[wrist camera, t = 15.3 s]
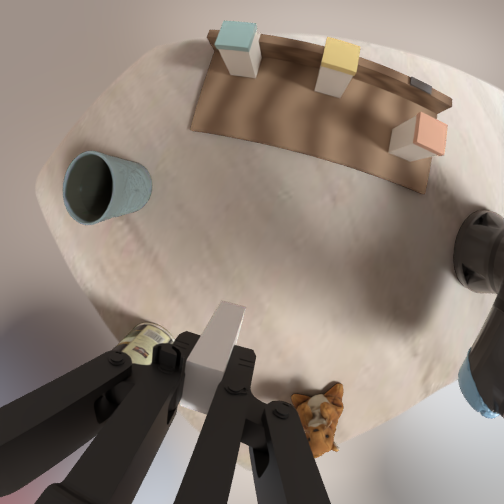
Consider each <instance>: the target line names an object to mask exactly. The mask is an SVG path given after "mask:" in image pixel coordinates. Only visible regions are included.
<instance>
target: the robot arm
mask: <svg viewBox="0 0 504 504" xmlns="http://www.w3.org/2000/svg"><path fill="white" fill-rule="evenodd" d="M454 267H455V271H456V275H457V277H458V279H459V281H460V282H461V284H462V285H463V286H465V287H466V288H468V289H469V290H471V291H473V292H476V293H496V294H498V295H497V297H496V299H495V302H494V304H493V306H492V308H491V310H490V313H489V315H488V317H487V319H486V321H485V323H484V325H483V327H482V329H481V331H480V333H479V335H478V336H477V338H476V340H475V342H474V344H473V345H472V347H471V348H470V349H469V351H468V353H467V357H466V359H465V360H464V362H463V364H462V366H461V367H460V370H459V373H458V382H459V386H460V389H461V392H462V394H463V395H464V397H465V398H466V400H467V401H468V403H469V404H470V405H471V407H472V408H473V409H474V410H476V411H477V412H479V411H480V413H481V415H482V416H484V417H486V418H495V417H497V416H499V415H501V416H502V417H503V418H504V218H503V217H502V216H500V215H499V214H497V213H495V212H492V211H486V210H480V211H476V212H474V213H473V214H471V215H470V216H469V217H468V218H467V219H466V220H465V222H464V223H463V225H462V226H461V228H460V230H459V233H458V235H457V238H456V242H455V248H454ZM245 309H246V307H244V306H241V305H237V304H233V303H230V302H226V301H223V300H222V301H221V302H220V304H219V306H218V308H217V309H216V311H215V313H214V314H213V316H212V318H211V319H210V321H209V323H208V324H207V326H206V328H205V330H204V331H203V333H202V335H201V336H200V335H197V334H194V333H191V332H188V331H185V332H183V333H181V334H179V335H178V337H177V338H176V339H175V341H174V342H173V344H170V343H160V344H156V345H155V346H154V347H153V352H152V363H151V364H150V365H141V364H136V363H132V359H131V357H130V356H129V355H128V354H126V353H124V352H122V351H117V350H114V351H108V352H106V353H104V354H102V355H100V356H98V357H96V358H95V359H93V360H91V361H89V362H87V363H85V364H83V365H81V366H80V367H78V368H76V369H74V370H72V371H70V372H68V373H66V374H65V375H63V376H61V377H59V378H57V379H55V380H53V381H51V382H49V383H47V384H45V385H44V386H42V387H40V388H38V389H36V390H34V391H32V392H30V393H28V394H26V395H24V396H22V397H20V398H19V399H16V400H14V401H12V402H11V403H9V404H7V405H5V406H3V407H1V408H0V497H3V496H6V495H9V494H11V493H13V492H15V491H17V490H19V489H20V488H22V487H24V486H25V485H27V484H28V483H30V482H31V481H33V480H34V479H36V478H37V477H39V476H40V475H42V474H43V473H45V472H46V471H48V470H49V469H50V468H52V467H53V466H55V465H56V464H58V463H59V462H60V461H62V460H63V459H65V458H66V457H68V456H69V455H70V454H72V453H73V452H74V451H76V450H77V449H78V448H80V447H81V446H83V445H84V444H85V443H87V442H88V441H89V440H91V439H92V438H93V437H95V436H96V435H97V436H96V437H95V438H94V440H93V441H92V442H91V444H90V446H89V447H88V448H87V449H86V451H85V452H84V453H83V455H82V456H81V457H80V459H79V460H78V462H77V463H76V464H75V466H74V467H73V468H72V470H71V471H70V472H69V474H68V475H67V477H66V478H65V479H64V480H63V481H62V482H61V483H53V484H51V485H49V486H48V487H47V488H46V489H45V490H44V492H43V493H42V494H41V496H40V497H39V498H38V500H37V501H36V502H35V504H132V502H133V500H134V498H135V496H136V494H137V492H138V490H139V488H140V486H141V484H142V481H143V480H144V478H145V476H146V474H147V472H148V470H149V468H150V466H151V464H152V462H153V460H154V458H155V456H156V454H157V452H158V450H159V448H160V445H161V443H162V441H163V439H164V437H165V435H166V433H167V431H168V429H169V427H170V425H171V423H172V421H173V419H174V417H175V415H176V412H177V406H178V404H179V402H180V406H183V407H185V408H188V409H191V410H195V411H198V412H201V413H204V414H207V416H206V419H205V422H204V424H203V427H202V430H201V432H200V435H199V438H198V441H197V443H196V446H195V449H194V451H193V454H192V456H191V459H190V462H189V465H188V467H187V470H186V472H185V475H184V477H183V480H182V483H181V485H180V488H179V491H178V493H177V496H176V498H175V501H174V503H173V504H227V501H228V497H229V493H230V488H231V484H232V479H233V475H234V470H235V465H236V461H237V456H238V452H239V447H240V442H242V443H244V444H246V445H248V446H249V453H250V459H251V465H252V472H253V477H254V483H255V490H256V495H257V501H258V504H331V503H330V500H329V498H328V495H327V492H326V489H325V487H324V484H323V481H322V478H321V476H320V473H319V470H318V467H317V465H316V462H315V459H314V456H313V453H312V451H311V448H310V445H309V442H308V440H307V437H306V434H305V431H304V428H303V426H302V423H301V420H300V417H299V414H298V412H297V410H296V409H295V408H294V407H293V406H292V405H291V404H289V403H286V402H283V401H272V402H270V403H268V404H266V403H264V402H261V401H260V400H258V399H257V398H256V397H254V395H253V394H252V393H251V390H250V386H251V381H252V376H253V370H254V365H255V360H256V355H255V353H254V351H253V350H252V349H248V348H244V347H241V346H237V345H236V344H237V340H238V336H239V332H240V328H241V325H242V321H243V317H244V313H245ZM180 400H181V401H180Z"/></svg>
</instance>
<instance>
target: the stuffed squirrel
mask: <svg viewBox="0 0 504 504" xmlns="http://www.w3.org/2000/svg"><path fill="white" fill-rule="evenodd" d="M342 396H343V385H342V384H341V383H340V384H336V385H335V386H333V387H332V388H331V389H330V390H329V391H328V392H326V393H325V395H323V394H319V395H315V396H313V397H312V398H310V397H308V396H305V395H300V394H293V395H292V396H291V400H292V403H293V405H294V407H295V408H296V410H297V412H298V414H299V417H300V420H301V423H302V426H303V428H304V430H305V432H306V433H305V434H306V437H307V440H308V442H309V445H310V448H311V451H312V453H313V456H314V458H317V457H319V456H322V454H324V453H325V452H329V451H330V450H333V451H336V452H337V451H339V447H338V446H337V445H336V443H335V442H334V437H333V436H334V435H335V434H334V433H335V431H336V426H337V423H338V419H339V417H340V416H341V413H342V411H343V403H342Z"/></svg>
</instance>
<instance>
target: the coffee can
mask: <svg viewBox="0 0 504 504" xmlns="http://www.w3.org/2000/svg"><path fill="white" fill-rule="evenodd" d="M174 341H175V340H174V338H173V337H172V335H171V334H170V333H169V332H168V331H167V330H165V329H164V328H163V327H161V326H159V325H157V324H154V323H141V324H139V325H137V326H136V327H135V328H134V329H133V330H132V331H131V332H130V333H129V334H128V335H127V336H126V337H125V338H124V339H123V340H122V341H121V342H120V343H119V344H118V345H117V346H116V347H115V348H114V349H112V350H111V351H114V350H117V351H122V352H124V353H126V354H128V355H129V356H130V357H131V359H132V363H136V364H141V365H150V364H151V363H152V352H153V347H154V346H155V345H156V344H160V343H170V344H173V342H174Z"/></svg>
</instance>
